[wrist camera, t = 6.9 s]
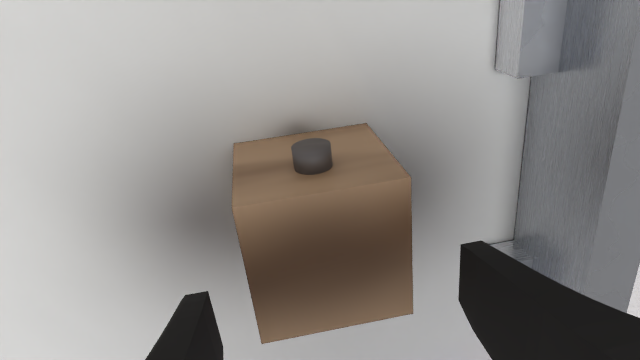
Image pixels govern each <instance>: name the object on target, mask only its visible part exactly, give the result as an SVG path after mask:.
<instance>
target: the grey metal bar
mask: <svg viewBox="0 0 640 360" xmlns="http://www.w3.org/2000/svg"><path fill="white" fill-rule="evenodd" d="M495 70H498V71H500V72H503V73H505V74H508V75H510V76H513V77H515V78H524V77H530V76H531V85H530V94H529V104H528V113H527V122H526V132H525V141H524V150H523V160H522V169H521V179H520V188H519V197H518V207H517V216H516V225H515V235H514V240H512V241H507V242H501V243H496V244H491V245H490V246H492V247H494V248H496V249H498V250H500V251H501V252H503V253H505V254H507V255H508V256H510V257H512V258H514V259H516V260H517V261H519V262H521V263H523V264H524V265H526V266H528V267H530V268H532V269H534V270H535V271H537V272H539V273H541V274H543V275H545V276H547V277H548V278H550V279H552V280H554V281H556V282H558V283H560V284H562V285H564V286H566V287H568V288H570V289H572V290H574V291H576V292H579V293H581V294H583V295H585V296H587V297H589V298H591V299H594V300H596V301H598V302H600V303H603V304H605V305H608V306H610V307H613V308H615V309H618V310H620V311H622V312H625V313H626V312H627V309H628V305H629V301H630V297H631V294H632V290H633V286H634V282H635V278H636V275H637V271H638V267H639V263H640V0H500V9H499V23H498V37H497V52H496V66H495Z"/></svg>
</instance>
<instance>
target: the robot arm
mask: <svg viewBox="0 0 640 360" xmlns="http://www.w3.org/2000/svg"><path fill="white" fill-rule="evenodd" d="M459 302H460V304H461V306H462V308H463V311H464V313H465V315H466V317H467V319H468V321H469V323H470V325H471V327H472V329H473V331H474V332H475V334H476V335H477V337H478V339H479V340H480V342H481V343H482V345H483V346H484V348H485V349H486V351H487V352H488V354H489V355H490V357H491V358H492V360H640V318H638V317H635V316H633V315H630V314H627V313H625V312H622V311H620V310H618V309H615V308H613V307H610V306H608V305H605V304H603V303H600V302H598V301H596V300H594V299H591V298H589V297H587V296H585V295H583V294H581V293H579V292H576V291H574V290H572V289H570V288H568V287H566V286H564V285H562V284H560V283H558V282H556V281H554V280H552V279H550V278H548V277H547V276H545V275H543V274H541V273H539V272H537V271H535V270H534V269H532V268H530V267H528V266H526V265H524V264H523V263H521V262H519V261H517V260H516V259H514V258H512V257H510V256H508V255H507V254H505V253H503V252H501V251H500V250H498V249H496V248H494V247H492V246H490V245H489V244H487V243H485V242H483V241H477V242H471V243H466V244H461V253H460V278H459ZM145 360H223V345H222V341H221V337H220V334H219V330H218V326H217V323H216V319H215V315H214V312H213V308H212V304H211V301H210V297H209V293H208V291H206V292H200V293H195V294H190V295H185V296H184V298H183V299H182V300H181V302H180V304H179V306H178V307H177V309H176V311H175V313H174V314H173V316H172V318H171V319H170V321H169V323H168V325H167V326H166V328H165V329H164V331H163V333H162V334H161V336H160V338H159V339H158V341H157V342H156V344H155V345H154V347H153V349H152V350H151V352H150V353H149V355H148V356H147V358H146V359H145Z"/></svg>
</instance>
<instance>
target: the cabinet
mask: <svg viewBox="0 0 640 360" xmlns="http://www.w3.org/2000/svg"><path fill="white" fill-rule="evenodd" d="M232 212H233V216H234V221H235V225H236V230H237V234H238V239H239V243H240V248H241V252H242V257H243V261H244V266H245V270H246V275H247V279H248V284H249V289H250V293H251V298H252V302H253V307H254V311H255V316H256V320H257V325H258V329H259V334H260V338H261V343H262V344H264V343H269V342H274V341H279V340H284V339H289V338H294V337H299V336H304V335H309V334H314V333H319V332H324V331H329V330H334V329H339V328H344V327H349V326H353V325H358V324H363V323H368V322H373V321H378V320H383V319H388V318H393V317H398V316H403V315H408V314H413V275H412V211H411V177H410V176H409V174H408V173H407V172H406V171H405V170H404V168H403V167H402V166H401V165H400V163H399V162H398V161H397V160H396V159H395V157H394V156H393V155H392V154H391V153H390V151H389V150H388V149H387V148H386V146H385V145H384V144H383V143H382V142H381V140H380V139H379V138H378V137H377V135H376V134H375V133H374V132H373V131H372V129H371V128H370V127H369V126H368V125H367V123H364V124H357V125H351V126H345V127H338V128H332V129H325V130H319V131H312V132H306V133H299V134H293V135H286V136H280V137H273V138H267V139H260V140H254V141H247V142H241V143H235V144H234V150H233V182H232Z"/></svg>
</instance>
